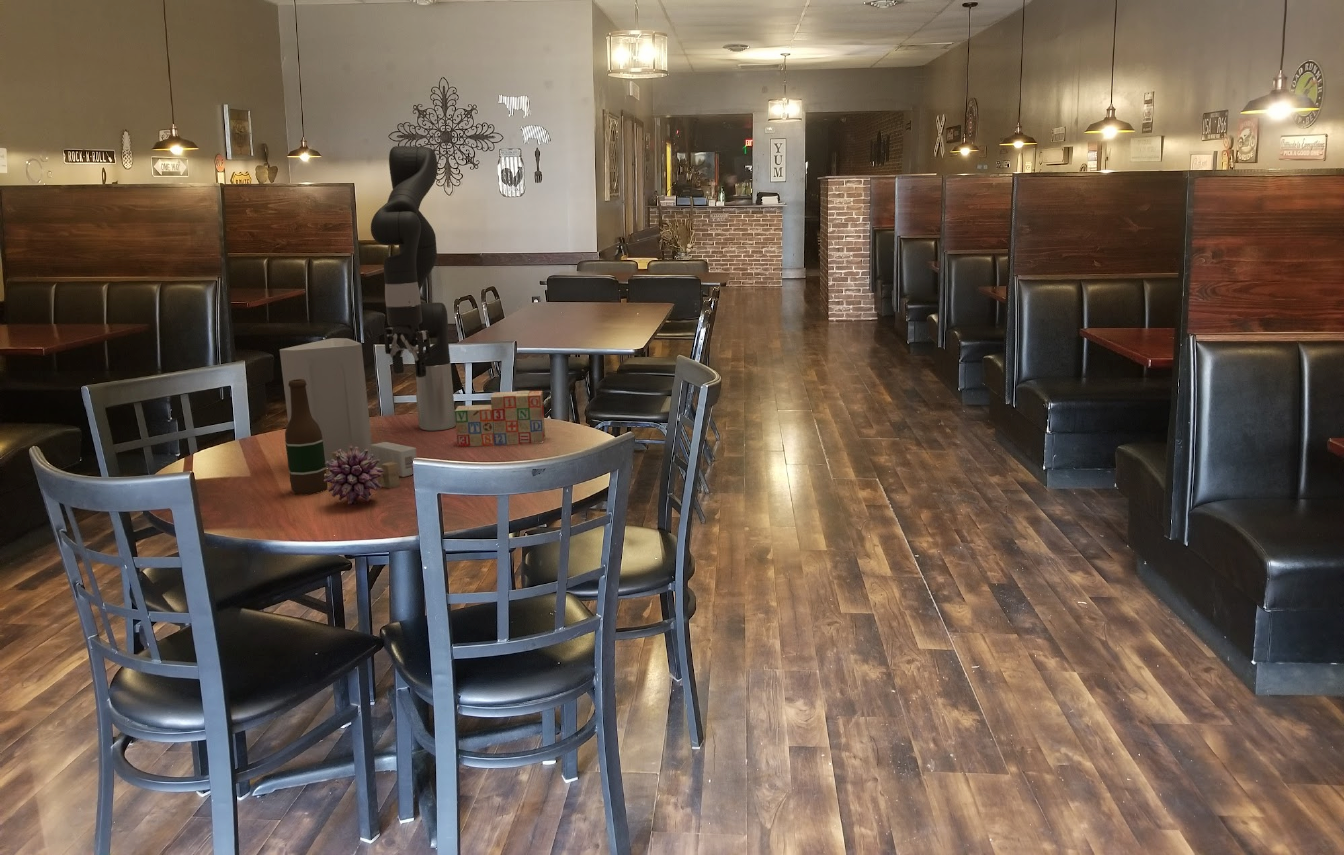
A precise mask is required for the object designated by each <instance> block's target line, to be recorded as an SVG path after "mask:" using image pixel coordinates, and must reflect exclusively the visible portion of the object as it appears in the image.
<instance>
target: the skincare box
mask: <svg viewBox="0 0 1344 855" xmlns="http://www.w3.org/2000/svg"><path fill="white" fill-rule="evenodd" d="M371 454H373V455H374V457H373V459H372V460H373V461H374V460H377V459H379V461H380V462H378V463H377V465H376V466H375V467H378V468H382V464H385V463H389V462H394V463H398V473H399V477H401V478H404V477H408V476H412V460H413V459H414V458H417V448H416V447H413V446H408V445H403V444H398V443H392V442H388V441H382V442H379V443H372V445H371ZM417 459H418V458H417Z"/></svg>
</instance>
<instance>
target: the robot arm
mask: <svg viewBox="0 0 1344 855" xmlns="http://www.w3.org/2000/svg"><path fill="white" fill-rule="evenodd" d="M388 166H389V174H390V175H389V176H390V181H391V188H392V190H391V192H390V193H389V196H388V198H387V202H386V203H385V204H383V206H382V207H381V208H379V209H378V210H377V211H376V212H375V214H374V215H373V217H372V218H371V221H370V222H371V223H370V234H371V237H372V238H373V240H374V241H375V242H376V243H378V244H380V245H382V246H383V245H385V246H389V245H398V251H399V253H398V254H394V255H390V256H386V257H385V258H384V259H383V264H382V265H383V267H382V268H383V275H384V297H385V299H384V301H385V307H386V308H385V310H386V318H387V324H388V326H390V327H385V328H383V335H384V339H383V340H384V350H385V354H386V355H389V356H390V357H391V359H392V369H393V373H394V374H396V375H398V374H402V373H404V372H405V368H404V359H403V353H404V351H405V350H407V351H408V352H409V353H410V354H412V356H413V359H414V367H415V378H416V379H415V380H416V388H417V392H416V393H415V398H416V399H415V400H416V406H417V407H416V408H417V409H416V410H417V417H418V418H417V419H418V427H419V428H420V429H421V430H423V431H444V430H449V429H453V428H456V422H455V410H456V409H455V400H454V398H455V397H454V389H453V388H454V385H453V379H452V378H453V376H452V364H451V356H450V347H449V322H448V321H449V320H448V319H449V318H448V311H447V307H446V305H445V304H444V303H443V302H426V303H421V293H420V292H421V289H422V287H423V285H424V284H425V281H426V280H427V279H428V277H429V276H430V273H431V272H432V271H433V269H434V267H435V265H436V262H437V259H438V252H437V251H438V250H437V237H436V233H435V231H434V228H433V227H432V225H431V224H430V223H429V221H428V219H427V218H426V217H425V216H424V215H423V214H422V212H421V211H420V206H421V204H422V201H423V199H424V198H425V197H426V195H427V194H428V193H429V191H431V188H432V187H433V185H434V184H435V182H436V179H437V175H438V159H437V154H436V152H435V150H434V149H433V148H432V147H428V146H418V145H417V146H412V145H411V146H410V145H396V146H395V145H394V146H393V147H392V148H390V150H389V155H388ZM430 339H436V341H435V342H434V343H433V344H432V345H431V341H430ZM390 344H391V346H390Z"/></svg>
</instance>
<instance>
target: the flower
mask: <svg viewBox="0 0 1344 855" xmlns="http://www.w3.org/2000/svg"><path fill="white" fill-rule="evenodd" d="M337 452H338V454H336V457H337V460H334V459H332V460H331V461H332V462H328V461H326V463H325V465H327V466H328V467H329V468H328V469H327V471H329V472H326V473H327V474H324V476H325V478H327V479H325V480H324V482H327V483H330V484H332V485H331V486H330V488H327V491H328V492H331V491H332V493H331V494H330V495H331V496H332V497H333V498H335V497H336V496H338V495H339V498H338V501H342V500H343V499H344V498H346V499H347V503H348V505H352V503H353V504H358V499H359V497H360V498H362V499H365V501H366V502H368V501H370V497H371V496H372V493H371V490H374V491H377V490H378V489H382V485H380V484H379V483H378V481H376V480H375V479H376V478H377V477H379V476H382V472H383V469H377V468H374V467H375V466H376V465H377V463H378V462H380V461H379V459H377V460H374V461H373V460H372V459H373V457H374V455H373V454H371V455H369V456H367V453H368V450H367V449H365V451H364V452H363V453H361V454H360V453H359V447H356V448H355V450H353V447H350V449H349V452H348V454H346V453H344V452H343V451H342V450H341V449H339V450H338V451H337Z"/></svg>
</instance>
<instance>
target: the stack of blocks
mask: <svg viewBox="0 0 1344 855" xmlns="http://www.w3.org/2000/svg"><path fill="white" fill-rule="evenodd" d="M543 395H544V394H543V390H533V391H532V390H531V391H530V390H518V391H505V392H504V391H502V392H501V391H499V392H498V391H497V392H492V394H491V396H490V402H491V404H474V405H473V404H472V405H458V406H457V407H456V409H455V422H456V426H455V432H456V442H457V447H458V448H459V447H481V446H503V445H521V444H522V443H529V444H536V443H535V442H542V441H544V442H545V439H544V437H545V438H546V428H545V427H546V426H545V412H544V411H545V409H544V396H543ZM522 445H523V444H522Z"/></svg>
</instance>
